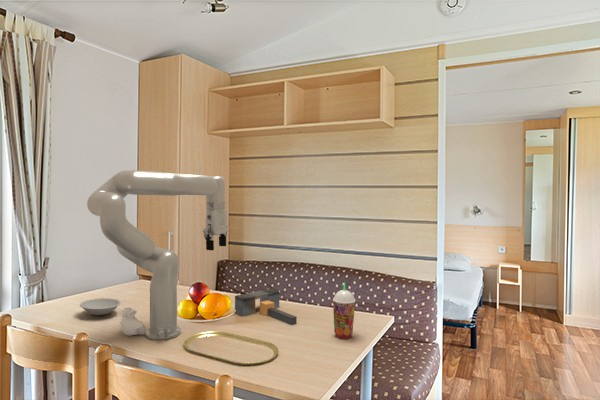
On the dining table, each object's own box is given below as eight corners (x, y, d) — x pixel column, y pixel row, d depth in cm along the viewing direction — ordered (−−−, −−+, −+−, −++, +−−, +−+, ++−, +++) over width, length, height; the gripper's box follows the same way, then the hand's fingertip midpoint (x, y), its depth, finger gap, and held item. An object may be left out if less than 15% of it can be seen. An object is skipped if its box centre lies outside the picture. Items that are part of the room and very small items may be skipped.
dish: (129, 313, 174) (128, 302, 174) (97, 323, 162) (97, 311, 162) (102, 307, 183) (102, 296, 183) (71, 316, 171) (71, 304, 170)
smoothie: (328, 337, 151) (329, 283, 150) (337, 330, 158) (338, 279, 157) (350, 341, 147) (351, 286, 146) (357, 334, 154) (358, 281, 153)
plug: (298, 323, 166) (298, 311, 165) (289, 325, 163) (290, 313, 162) (267, 311, 180) (267, 300, 180) (259, 313, 177) (259, 302, 177)
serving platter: (208, 332, 156) (208, 328, 155) (288, 350, 139) (288, 346, 139) (171, 349, 139) (171, 344, 139) (257, 373, 123) (257, 367, 123)
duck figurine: (121, 336, 154) (104, 318, 148) (135, 320, 159) (118, 301, 153) (141, 343, 148) (124, 324, 142) (155, 326, 153) (139, 307, 147)
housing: (279, 307, 187) (279, 290, 186) (242, 316, 173) (242, 298, 173) (271, 304, 191) (271, 288, 191) (234, 312, 178) (235, 295, 177)
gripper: (212, 208, 157) (213, 252, 158) (234, 205, 174) (234, 245, 175) (195, 207, 160) (196, 251, 161) (218, 204, 176) (219, 244, 177)
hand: (216, 248), depth 168 cm, fingers open, 9 cm apart
